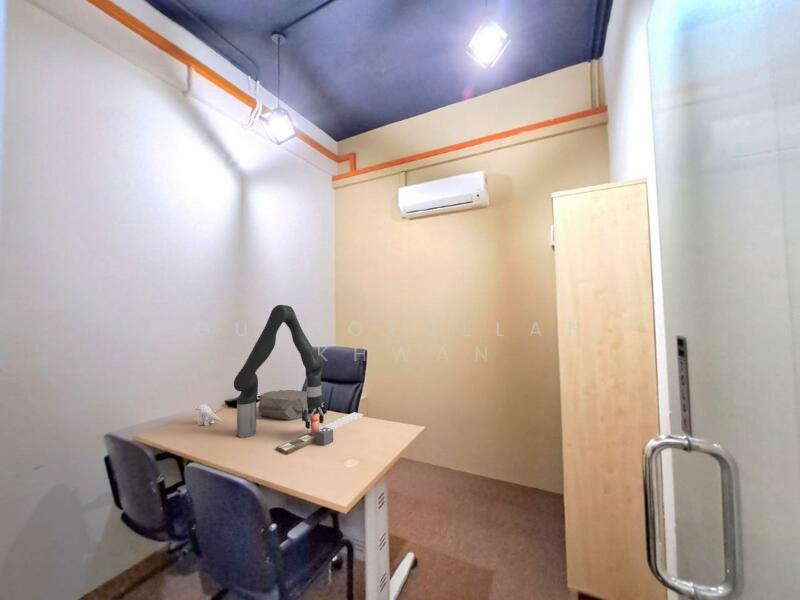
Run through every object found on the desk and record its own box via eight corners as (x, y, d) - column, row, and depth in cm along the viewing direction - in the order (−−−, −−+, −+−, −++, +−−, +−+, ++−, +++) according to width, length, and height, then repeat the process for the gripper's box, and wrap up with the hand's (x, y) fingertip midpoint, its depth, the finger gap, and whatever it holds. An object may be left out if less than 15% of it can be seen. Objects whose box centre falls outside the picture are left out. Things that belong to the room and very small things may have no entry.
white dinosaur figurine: (198, 418, 187) (200, 400, 186) (227, 427, 178) (229, 408, 178) (187, 422, 180) (189, 404, 180) (217, 431, 172) (218, 412, 172)
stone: (324, 409, 201) (322, 386, 201) (296, 425, 176) (294, 399, 176) (280, 406, 214) (279, 385, 214) (249, 421, 190) (247, 397, 190)
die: (315, 443, 151) (315, 430, 151) (325, 438, 155) (325, 426, 156) (324, 446, 147) (323, 433, 147) (333, 441, 152) (333, 429, 152)
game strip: (276, 449, 144) (276, 446, 144) (313, 433, 162) (313, 430, 162) (287, 454, 139) (287, 451, 139) (324, 437, 157) (324, 434, 157)
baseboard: (314, 430, 168) (327, 434, 163) (314, 425, 168) (327, 429, 163) (351, 413, 194) (363, 416, 188) (351, 409, 194) (363, 411, 188)
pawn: (308, 434, 157) (308, 414, 157) (315, 431, 161) (315, 411, 161) (314, 436, 154) (313, 415, 154) (321, 433, 158) (320, 413, 158)
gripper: (320, 390, 166) (320, 419, 166) (298, 396, 154) (298, 428, 154) (329, 392, 162) (330, 422, 161) (307, 399, 150) (308, 432, 150)
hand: (314, 425), depth 158 cm, fingers open, 8 cm apart
